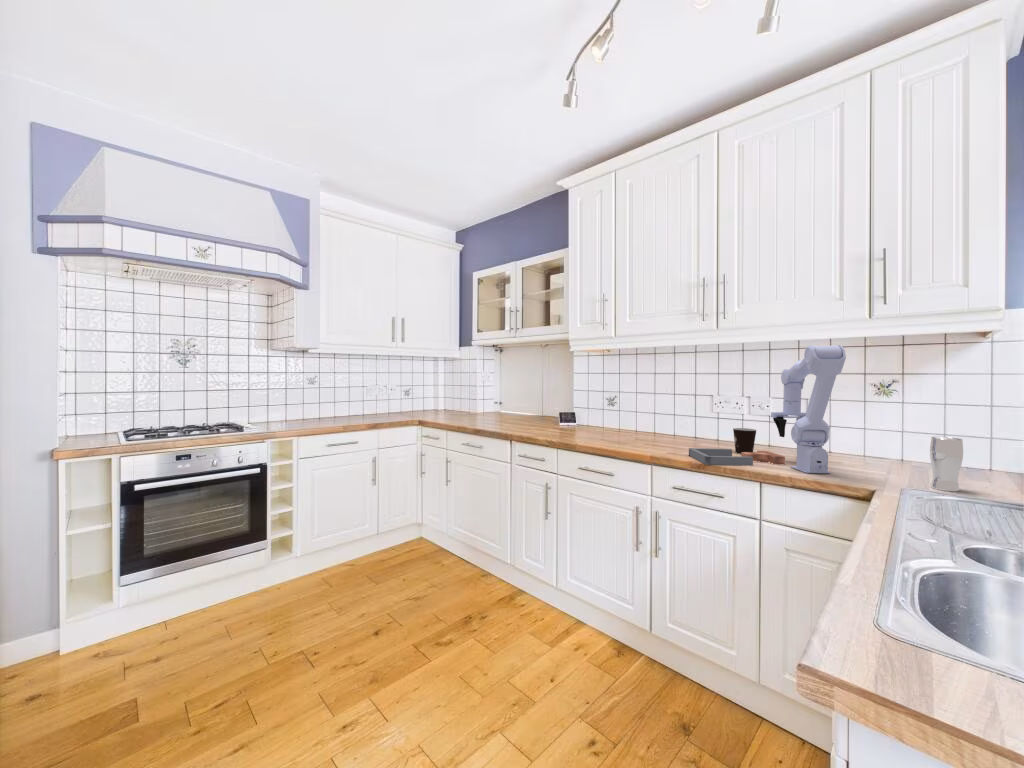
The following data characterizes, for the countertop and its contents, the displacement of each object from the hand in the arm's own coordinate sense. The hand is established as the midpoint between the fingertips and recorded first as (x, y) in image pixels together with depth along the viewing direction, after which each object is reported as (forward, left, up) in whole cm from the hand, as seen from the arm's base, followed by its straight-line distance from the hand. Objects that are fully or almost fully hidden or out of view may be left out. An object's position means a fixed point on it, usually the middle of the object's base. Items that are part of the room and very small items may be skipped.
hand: (791, 436), depth 169 cm
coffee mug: (+18, +9, -10) cm, 22 cm away
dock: (0, +26, -9) cm, 28 cm away
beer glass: (-38, -22, -10) cm, 45 cm away
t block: (0, +12, -10) cm, 15 cm away
